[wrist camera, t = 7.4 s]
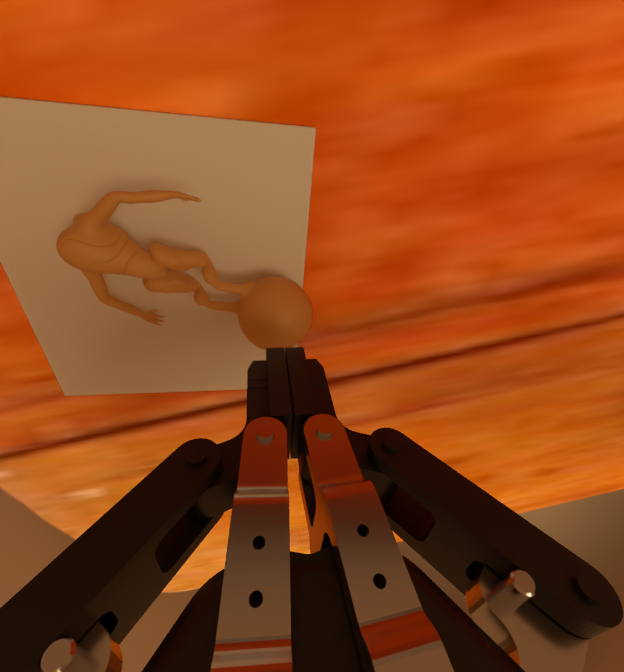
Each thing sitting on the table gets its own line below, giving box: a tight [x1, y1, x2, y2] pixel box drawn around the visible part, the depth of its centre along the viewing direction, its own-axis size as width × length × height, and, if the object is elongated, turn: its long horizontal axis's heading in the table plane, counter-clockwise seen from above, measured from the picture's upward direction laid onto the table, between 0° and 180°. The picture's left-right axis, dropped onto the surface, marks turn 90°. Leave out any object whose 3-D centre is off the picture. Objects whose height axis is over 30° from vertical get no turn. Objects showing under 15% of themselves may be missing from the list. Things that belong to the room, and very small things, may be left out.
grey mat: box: [0, 96, 316, 396], centre depth 18 cm, size 15×16×1 cm
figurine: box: [56, 190, 313, 350], centre depth 16 cm, size 8×6×12 cm
